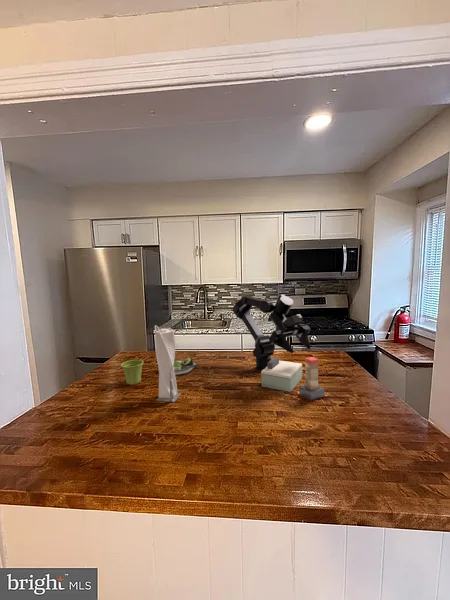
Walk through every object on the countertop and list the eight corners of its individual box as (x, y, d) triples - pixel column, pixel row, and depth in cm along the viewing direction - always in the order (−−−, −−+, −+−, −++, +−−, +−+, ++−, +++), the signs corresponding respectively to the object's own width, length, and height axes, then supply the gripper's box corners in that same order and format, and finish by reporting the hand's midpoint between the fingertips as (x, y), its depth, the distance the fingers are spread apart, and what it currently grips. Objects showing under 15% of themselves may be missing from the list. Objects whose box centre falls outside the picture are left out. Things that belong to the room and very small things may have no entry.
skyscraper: (153, 400, 107) (148, 327, 104) (162, 391, 115) (158, 323, 112) (174, 402, 105) (169, 327, 102) (182, 392, 113) (178, 323, 110)
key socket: (299, 393, 109) (299, 385, 108) (312, 390, 111) (312, 382, 111) (311, 400, 103) (310, 392, 102) (324, 396, 105) (324, 388, 105)
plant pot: (145, 384, 123) (144, 364, 122) (122, 388, 120) (121, 368, 119) (143, 376, 132) (142, 358, 131) (121, 380, 129) (120, 361, 128)
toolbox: (261, 386, 117) (261, 374, 116) (276, 373, 130) (275, 362, 130) (290, 391, 110) (290, 379, 110) (302, 377, 124) (302, 366, 123)
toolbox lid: (261, 373, 116) (261, 365, 116) (275, 362, 130) (275, 354, 129) (290, 378, 110) (289, 369, 109) (302, 365, 123) (302, 358, 123)
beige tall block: (305, 394, 108) (305, 358, 106) (312, 392, 109) (312, 356, 108) (311, 397, 105) (311, 360, 103) (318, 395, 106) (318, 359, 105)
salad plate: (184, 380, 127) (183, 370, 127) (150, 376, 133) (149, 366, 133) (202, 365, 145) (201, 357, 145) (171, 363, 151) (170, 354, 151)
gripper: (270, 311, 114) (292, 341, 104) (305, 306, 123) (328, 334, 113) (260, 329, 121) (280, 359, 111) (294, 324, 130) (314, 351, 120)
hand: (301, 350), depth 114 cm, fingers open, 9 cm apart
